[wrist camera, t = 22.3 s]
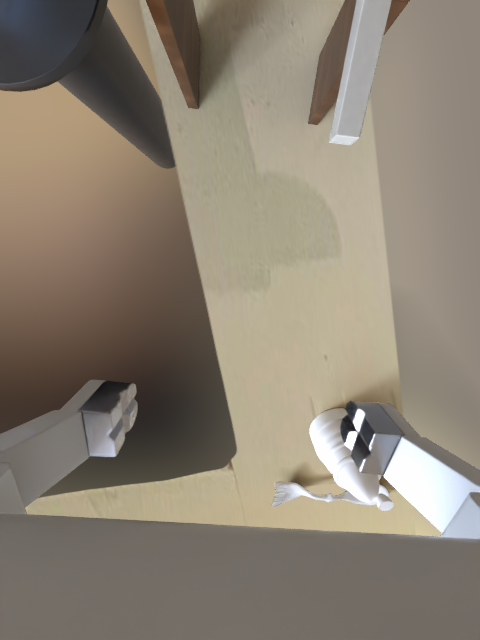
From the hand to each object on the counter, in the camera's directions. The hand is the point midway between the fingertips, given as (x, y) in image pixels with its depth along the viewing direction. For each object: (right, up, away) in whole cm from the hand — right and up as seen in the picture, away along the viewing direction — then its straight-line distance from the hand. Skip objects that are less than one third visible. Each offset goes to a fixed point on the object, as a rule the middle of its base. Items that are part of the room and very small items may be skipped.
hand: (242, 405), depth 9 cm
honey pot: (+24, -24, +49) cm, 59 cm away
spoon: (+25, -44, +57) cm, 76 cm away
